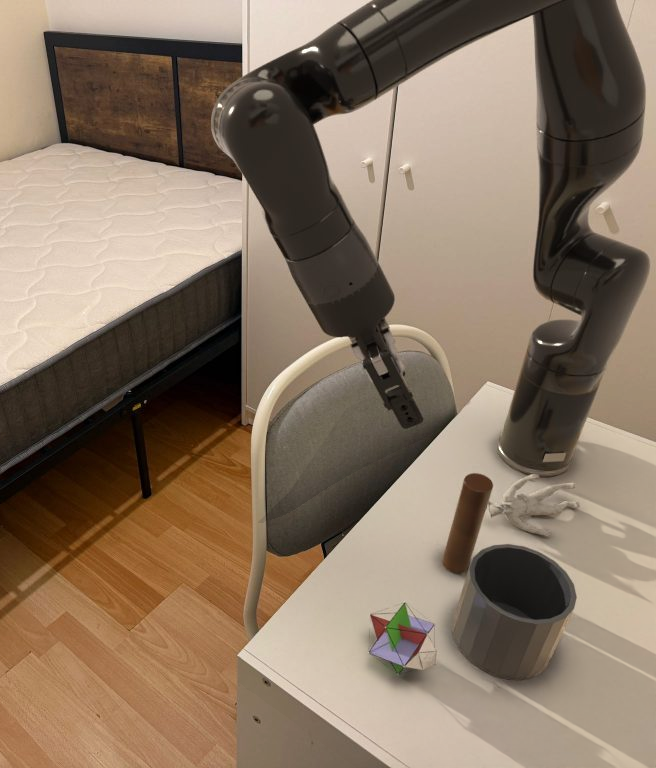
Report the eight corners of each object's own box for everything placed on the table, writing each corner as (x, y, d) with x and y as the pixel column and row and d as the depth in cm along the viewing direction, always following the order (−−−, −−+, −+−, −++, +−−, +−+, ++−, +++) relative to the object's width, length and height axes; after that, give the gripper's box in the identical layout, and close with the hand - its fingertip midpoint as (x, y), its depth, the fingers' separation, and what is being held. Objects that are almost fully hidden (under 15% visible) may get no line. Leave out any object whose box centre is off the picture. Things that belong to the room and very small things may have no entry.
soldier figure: (586, 529, 94) (525, 541, 88) (551, 530, 98) (490, 541, 93) (573, 469, 95) (512, 476, 90) (539, 473, 99) (479, 480, 94)
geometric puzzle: (340, 636, 80) (388, 627, 74) (372, 597, 84) (420, 585, 77) (382, 690, 80) (434, 685, 73) (413, 648, 83) (465, 640, 77)
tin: (465, 587, 87) (483, 531, 81) (557, 625, 82) (583, 568, 76) (441, 652, 80) (458, 595, 74) (539, 696, 76) (566, 640, 70)
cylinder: (446, 550, 91) (468, 469, 83) (471, 560, 90) (496, 478, 82) (439, 567, 89) (461, 485, 81) (464, 577, 88) (489, 495, 80)
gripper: (391, 291, 62) (458, 426, 69) (363, 230, 74) (423, 350, 81) (309, 329, 65) (382, 456, 71) (296, 264, 77) (359, 378, 83)
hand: (404, 399), depth 76 cm, fingers open, 8 cm apart
